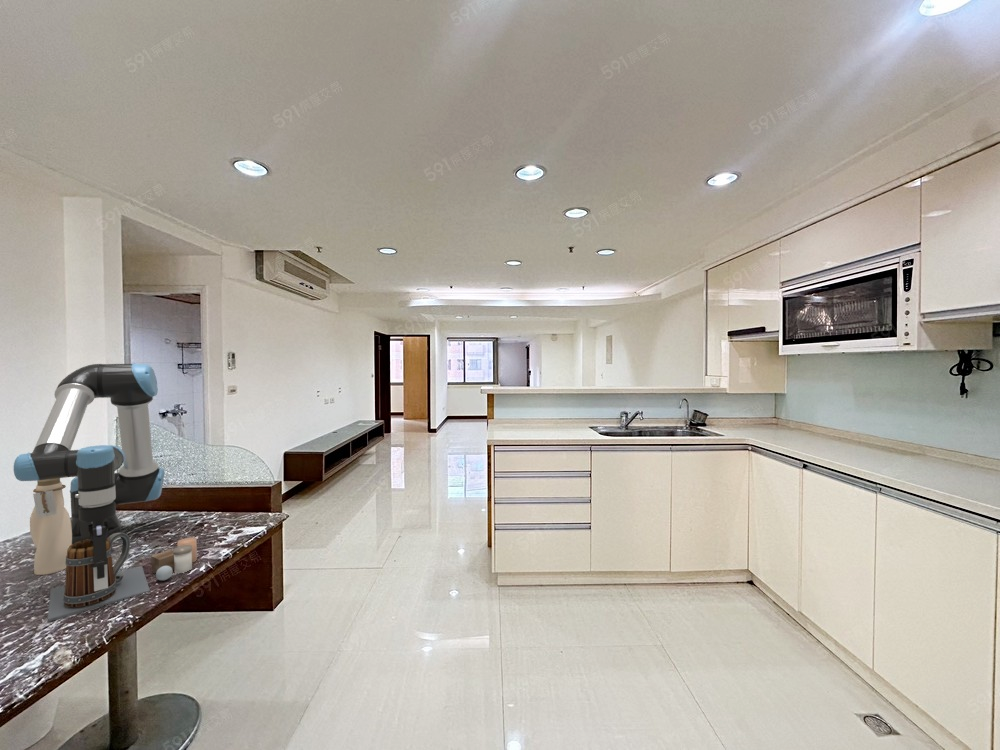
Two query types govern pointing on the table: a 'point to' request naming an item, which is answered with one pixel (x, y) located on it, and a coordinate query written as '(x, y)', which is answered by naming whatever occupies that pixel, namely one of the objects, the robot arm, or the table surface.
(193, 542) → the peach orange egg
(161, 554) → the walnut block
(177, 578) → the table surface
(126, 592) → the slate pad
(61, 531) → the cream corked bottle
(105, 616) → the table surface
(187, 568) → the jar
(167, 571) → the grey ball
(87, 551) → the mug
